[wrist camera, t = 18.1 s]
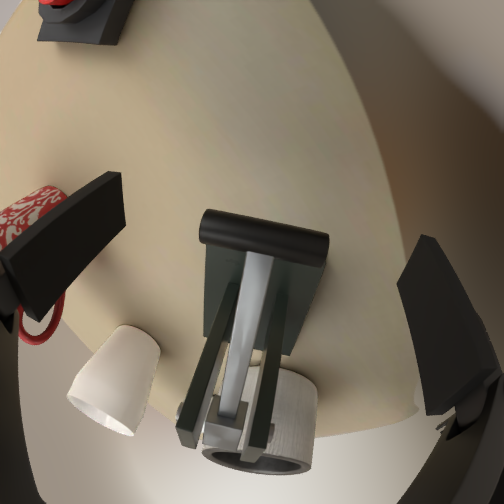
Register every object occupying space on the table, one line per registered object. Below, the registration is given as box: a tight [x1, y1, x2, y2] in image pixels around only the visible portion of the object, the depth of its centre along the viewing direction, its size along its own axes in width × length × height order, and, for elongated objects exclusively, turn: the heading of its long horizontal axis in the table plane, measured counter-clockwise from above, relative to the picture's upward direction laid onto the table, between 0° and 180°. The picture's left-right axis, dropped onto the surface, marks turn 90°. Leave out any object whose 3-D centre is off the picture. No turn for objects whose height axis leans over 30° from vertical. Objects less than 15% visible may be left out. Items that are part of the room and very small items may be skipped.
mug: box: [0, 186, 67, 345], centre depth 19 cm, size 13×9×14 cm
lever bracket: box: [176, 244, 326, 463], centre depth 19 cm, size 12×9×14 cm
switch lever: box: [199, 209, 329, 452], centre depth 13 cm, size 14×5×2 cm, turn 172°
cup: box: [67, 325, 161, 436], centre depth 28 cm, size 9×9×12 cm
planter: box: [202, 366, 318, 475], centre depth 29 cm, size 13×13×11 cm
